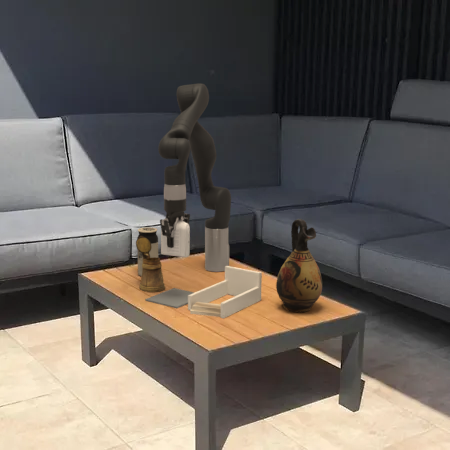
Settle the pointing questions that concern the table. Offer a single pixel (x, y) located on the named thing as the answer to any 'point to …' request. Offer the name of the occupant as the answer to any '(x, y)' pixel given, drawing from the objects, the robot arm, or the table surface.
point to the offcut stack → (206, 309)
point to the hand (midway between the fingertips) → (175, 245)
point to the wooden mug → (150, 268)
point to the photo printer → (177, 241)
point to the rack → (232, 291)
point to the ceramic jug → (299, 272)
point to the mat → (171, 298)
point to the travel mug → (153, 238)
